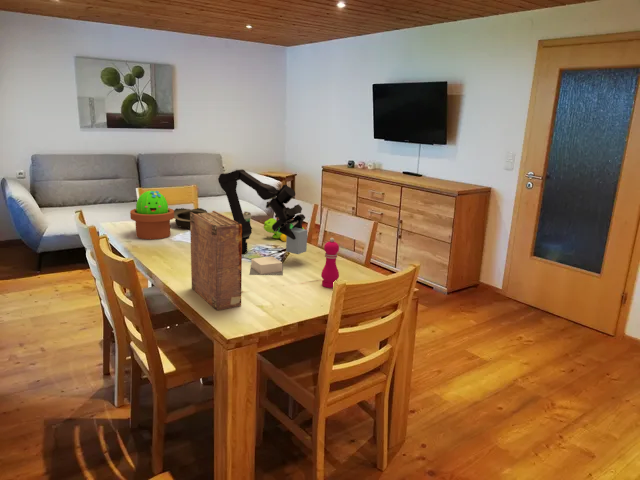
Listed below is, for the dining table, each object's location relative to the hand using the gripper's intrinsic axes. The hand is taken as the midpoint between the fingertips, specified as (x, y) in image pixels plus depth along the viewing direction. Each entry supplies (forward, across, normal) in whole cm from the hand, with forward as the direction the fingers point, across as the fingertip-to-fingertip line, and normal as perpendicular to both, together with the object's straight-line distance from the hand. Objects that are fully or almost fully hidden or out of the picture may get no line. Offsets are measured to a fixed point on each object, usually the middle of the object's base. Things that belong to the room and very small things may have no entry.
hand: (299, 237), depth 216 cm
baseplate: (+5, -15, +14) cm, 21 cm away
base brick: (+4, -15, +13) cm, 21 cm away
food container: (-34, +36, +54) cm, 73 cm away
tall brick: (+4, 0, +6) cm, 7 cm away
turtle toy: (-15, +36, +35) cm, 53 cm away
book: (+8, -50, +12) cm, 52 cm away
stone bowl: (-55, +23, +75) cm, 96 cm away
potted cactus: (-54, -7, +74) cm, 91 cm away
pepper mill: (+27, -12, -7) cm, 30 cm away
